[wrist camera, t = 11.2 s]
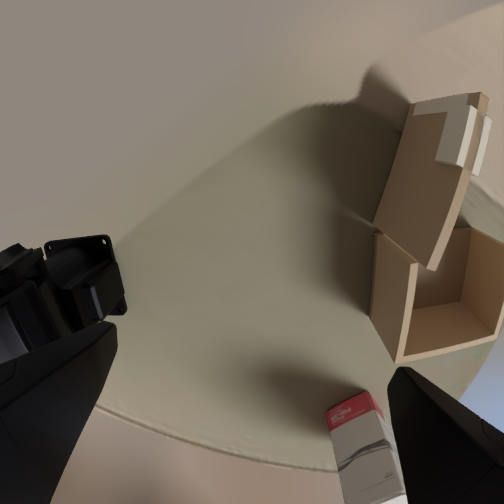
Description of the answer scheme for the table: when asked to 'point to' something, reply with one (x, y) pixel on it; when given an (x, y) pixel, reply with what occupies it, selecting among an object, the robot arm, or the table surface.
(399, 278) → the carton
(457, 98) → the end flap
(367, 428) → the ink box
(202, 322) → the table surface
